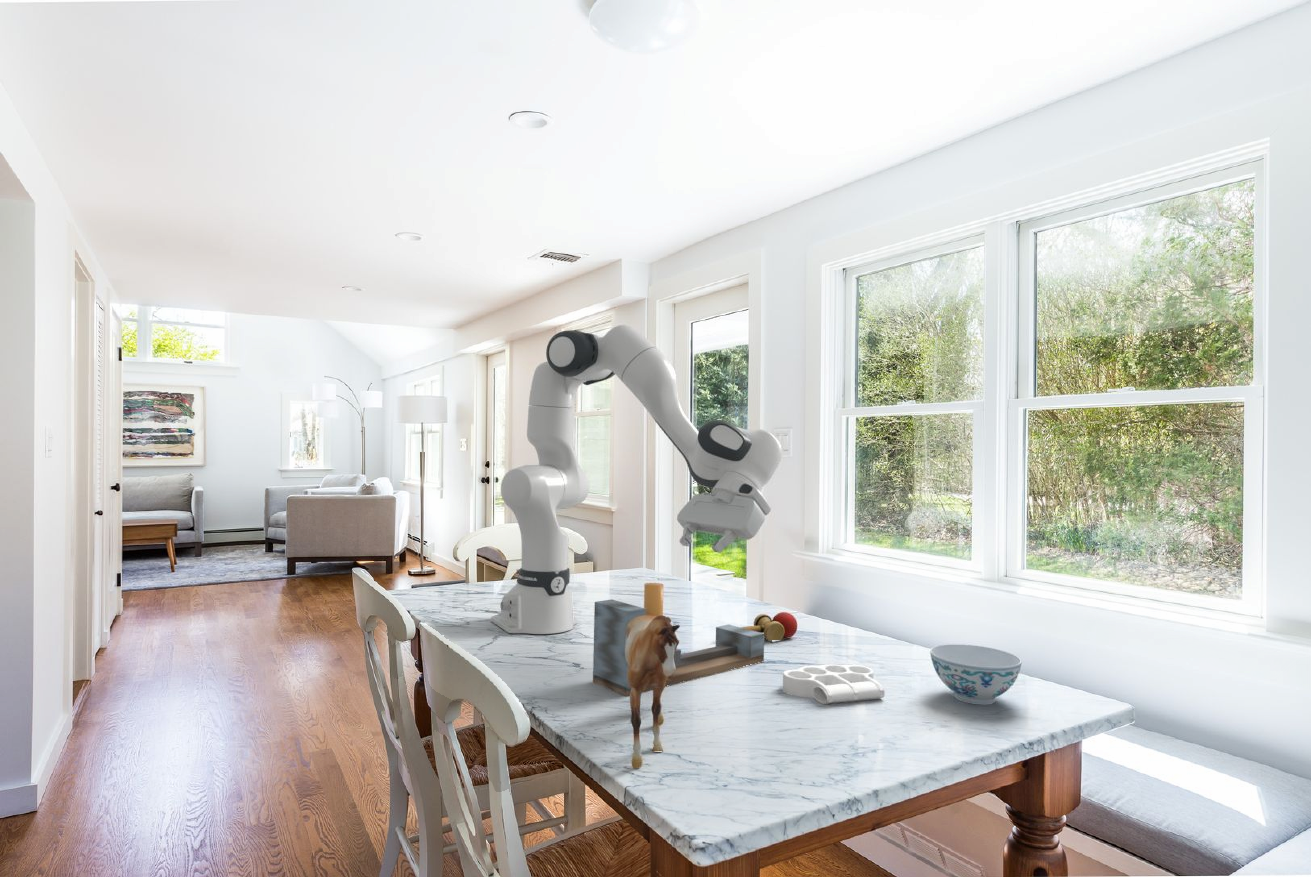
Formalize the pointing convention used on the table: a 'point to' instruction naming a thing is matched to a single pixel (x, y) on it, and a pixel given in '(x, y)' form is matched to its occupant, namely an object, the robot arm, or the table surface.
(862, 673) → the white brass knuckles
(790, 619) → the kendama
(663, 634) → the horse figurine
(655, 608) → the carriage
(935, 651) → the chinaware
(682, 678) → the walnut rail
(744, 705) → the table surface
